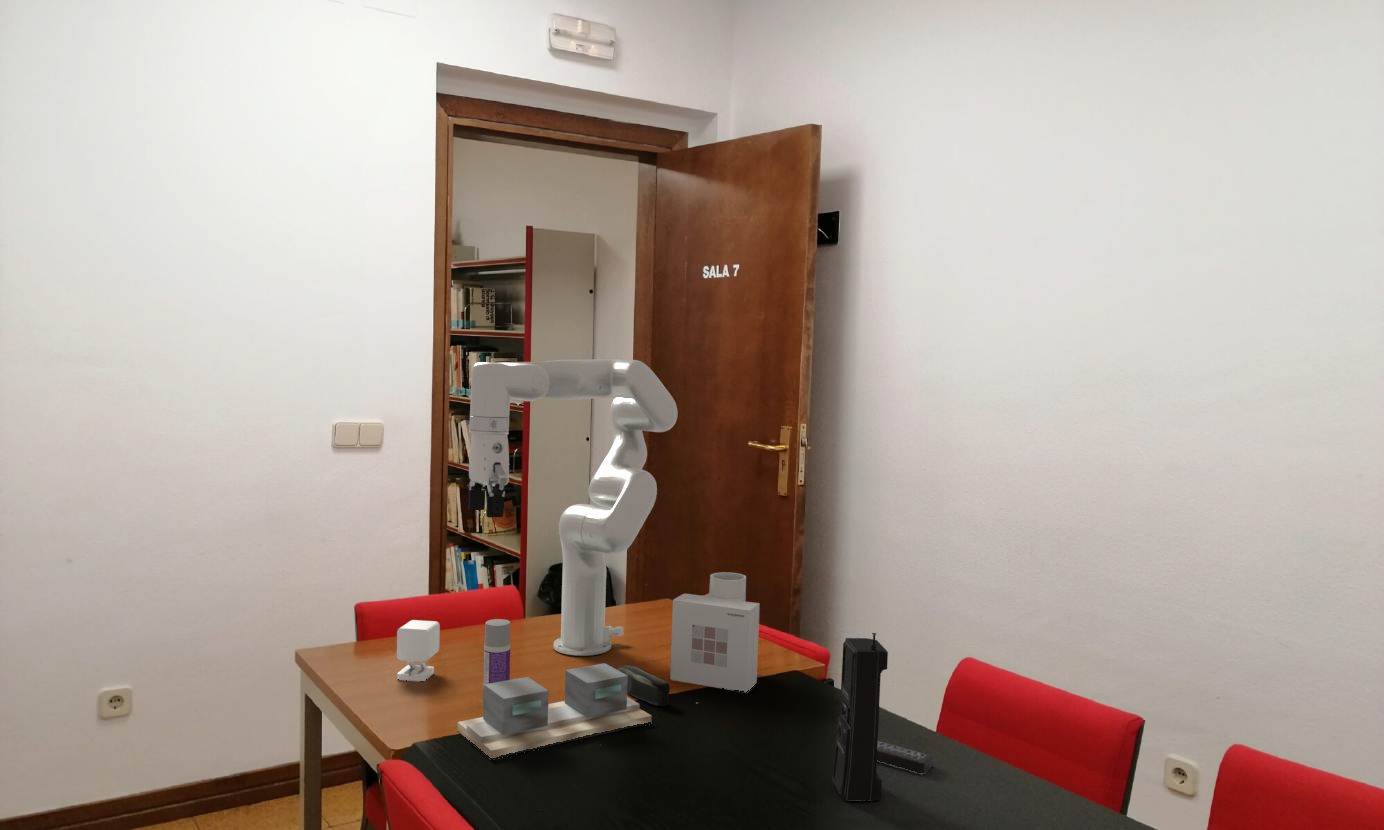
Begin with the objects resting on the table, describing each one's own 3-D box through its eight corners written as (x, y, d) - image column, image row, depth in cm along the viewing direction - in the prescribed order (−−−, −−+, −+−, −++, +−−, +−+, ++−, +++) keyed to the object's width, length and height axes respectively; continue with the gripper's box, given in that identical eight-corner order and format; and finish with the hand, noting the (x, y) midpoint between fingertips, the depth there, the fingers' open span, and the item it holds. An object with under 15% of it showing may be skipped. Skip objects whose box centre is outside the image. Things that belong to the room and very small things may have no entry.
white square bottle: (669, 680, 195) (672, 581, 194) (703, 655, 212) (706, 564, 211) (746, 693, 189) (750, 591, 188) (775, 666, 206) (778, 572, 205)
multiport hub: (922, 778, 154) (923, 763, 153) (839, 753, 162) (840, 740, 162) (933, 769, 157) (934, 755, 157) (851, 745, 166) (851, 732, 165)
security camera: (439, 670, 196) (439, 621, 196) (426, 681, 189) (427, 631, 189) (408, 668, 197) (409, 619, 196) (394, 679, 190) (395, 629, 189)
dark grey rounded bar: (672, 680, 181) (620, 659, 191) (660, 684, 179) (608, 662, 189) (671, 707, 181) (619, 683, 192) (659, 710, 179) (607, 687, 190)
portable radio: (829, 779, 151) (836, 620, 149) (867, 779, 151) (874, 620, 150) (841, 802, 143) (848, 634, 142) (881, 802, 144) (889, 635, 142)
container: (513, 700, 181) (515, 620, 180) (500, 708, 176) (502, 626, 175) (491, 696, 182) (493, 617, 181) (478, 705, 178) (479, 623, 177)
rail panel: (610, 699, 183) (612, 655, 182) (651, 723, 171) (652, 677, 171) (457, 730, 165) (458, 682, 165) (491, 759, 154) (492, 708, 154)
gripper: (524, 429, 185) (520, 519, 185) (491, 423, 199) (487, 506, 200) (486, 428, 181) (482, 520, 181) (455, 422, 195) (451, 507, 196)
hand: (485, 513), depth 191 cm, fingers open, 9 cm apart
